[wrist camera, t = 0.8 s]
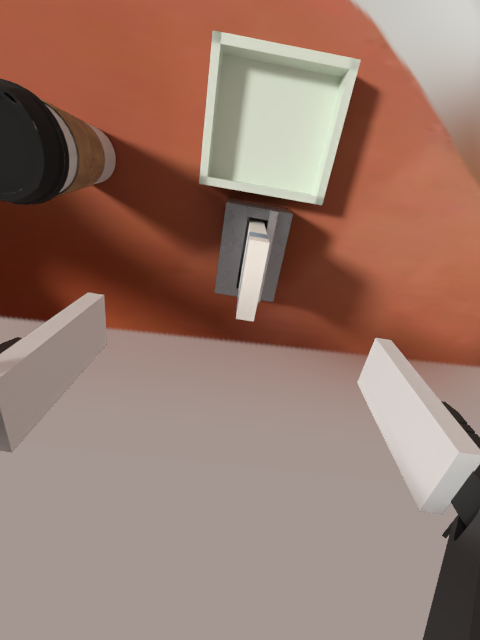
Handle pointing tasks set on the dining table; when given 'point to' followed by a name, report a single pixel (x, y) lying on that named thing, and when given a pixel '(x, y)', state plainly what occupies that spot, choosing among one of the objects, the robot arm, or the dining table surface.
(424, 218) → the dining table surface
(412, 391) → the robot arm
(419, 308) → the dining table surface
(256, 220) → the white striped flat box
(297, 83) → the tray
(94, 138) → the coffee cup
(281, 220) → the dispenser
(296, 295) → the dining table surface
